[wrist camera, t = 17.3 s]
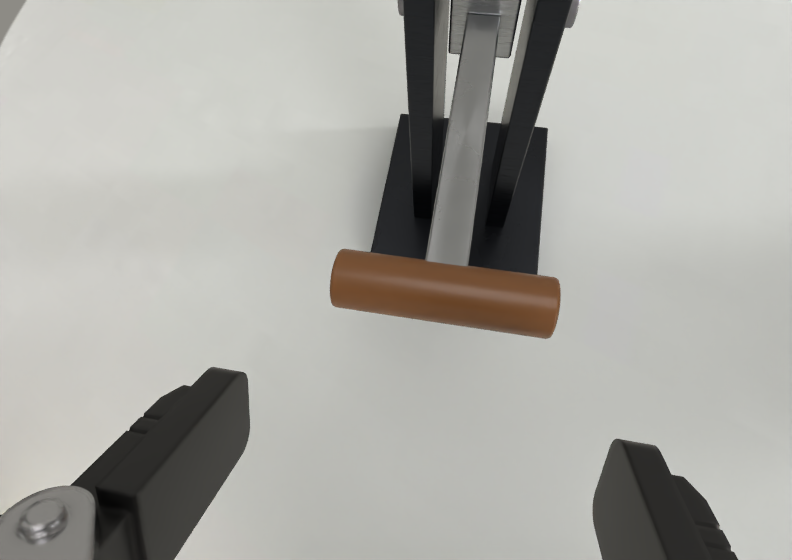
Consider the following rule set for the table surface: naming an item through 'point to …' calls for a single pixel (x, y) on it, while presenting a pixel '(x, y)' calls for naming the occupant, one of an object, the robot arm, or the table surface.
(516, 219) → the crank stand
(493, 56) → the handle lever
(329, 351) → the table surface
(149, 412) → the robot arm
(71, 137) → the table surface
